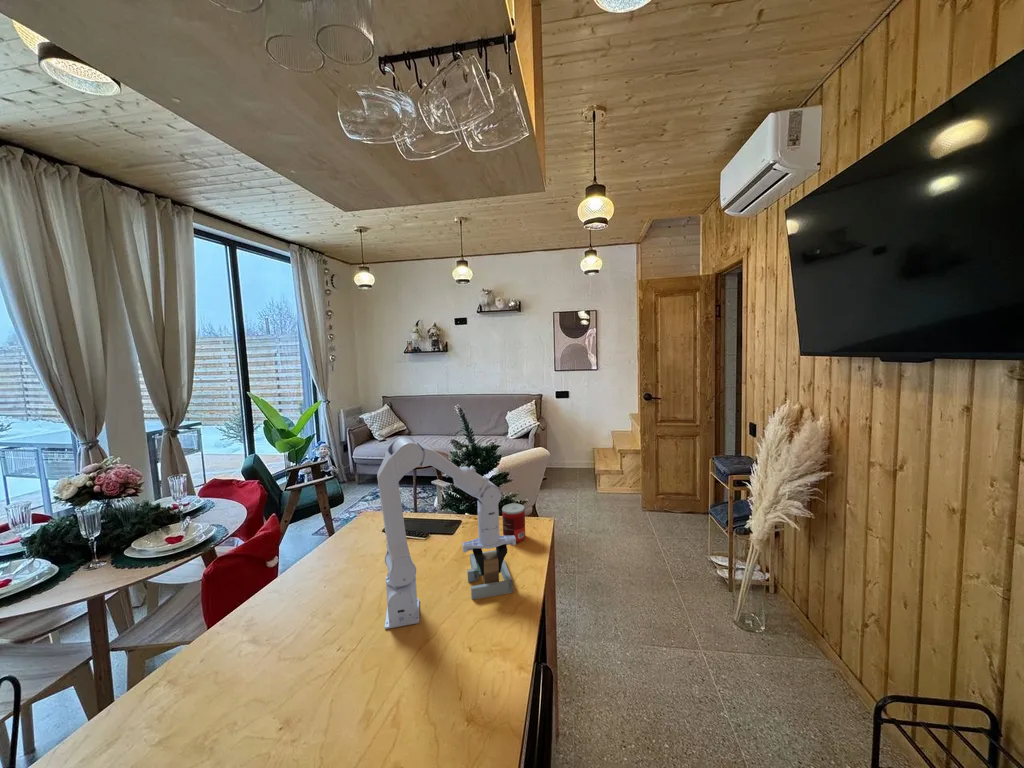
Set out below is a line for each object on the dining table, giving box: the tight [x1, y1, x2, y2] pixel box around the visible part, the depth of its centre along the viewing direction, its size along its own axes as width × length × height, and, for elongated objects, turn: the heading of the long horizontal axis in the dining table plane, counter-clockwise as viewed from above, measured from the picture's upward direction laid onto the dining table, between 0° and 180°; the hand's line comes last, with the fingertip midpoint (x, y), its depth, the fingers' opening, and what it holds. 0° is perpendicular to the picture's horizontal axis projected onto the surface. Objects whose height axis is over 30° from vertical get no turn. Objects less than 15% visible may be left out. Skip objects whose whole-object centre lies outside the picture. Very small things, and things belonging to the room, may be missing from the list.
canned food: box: [501, 502, 526, 544], centre depth 138 cm, size 8×8×11 cm
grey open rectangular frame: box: [467, 549, 514, 601], centre depth 115 cm, size 18×11×3 cm, turn 13°
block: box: [482, 550, 500, 584], centre depth 111 cm, size 4×4×7 cm
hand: (490, 572), depth 111 cm, fingers closed on block, 4 cm apart
